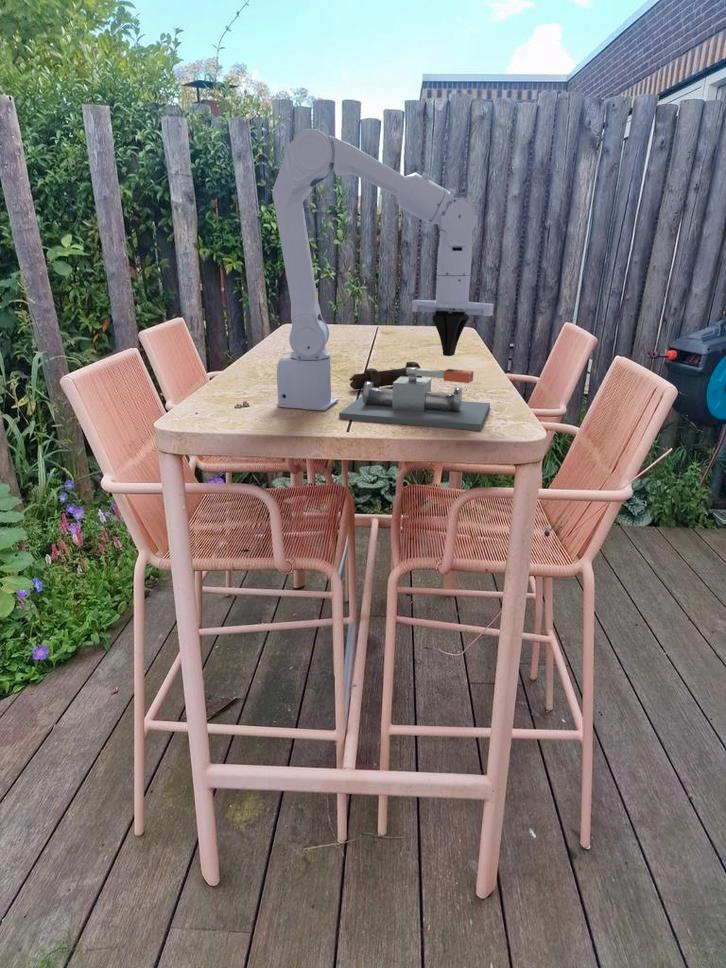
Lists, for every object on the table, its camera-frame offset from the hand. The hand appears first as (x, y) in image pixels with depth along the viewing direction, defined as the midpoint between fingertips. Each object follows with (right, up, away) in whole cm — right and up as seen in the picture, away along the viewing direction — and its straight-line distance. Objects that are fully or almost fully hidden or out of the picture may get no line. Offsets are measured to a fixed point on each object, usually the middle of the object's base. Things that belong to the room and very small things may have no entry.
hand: (448, 355), depth 107 cm
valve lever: (-3, -5, -6) cm, 8 cm away
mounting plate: (-6, -11, -2) cm, 12 cm away
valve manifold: (-7, -11, -1) cm, 13 cm away
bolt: (-11, -4, +18) cm, 21 cm away
